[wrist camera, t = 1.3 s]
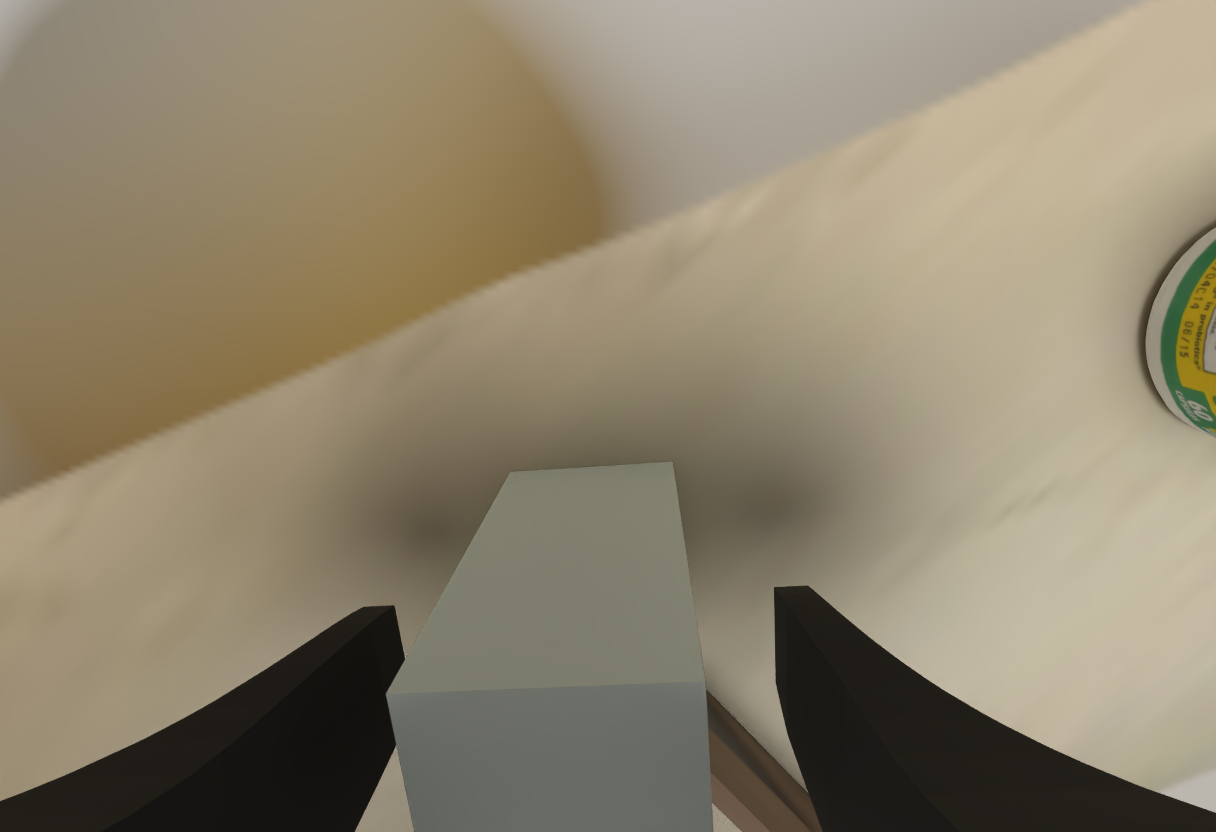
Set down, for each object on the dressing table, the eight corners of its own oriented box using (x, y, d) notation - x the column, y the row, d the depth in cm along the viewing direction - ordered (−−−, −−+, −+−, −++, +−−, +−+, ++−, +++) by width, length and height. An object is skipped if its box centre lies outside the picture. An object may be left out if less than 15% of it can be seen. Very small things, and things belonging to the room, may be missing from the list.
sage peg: (529, 614, 17) (434, 933, 9) (510, 471, 16) (386, 694, 8) (681, 606, 16) (718, 928, 9) (672, 461, 15) (705, 680, 8)
